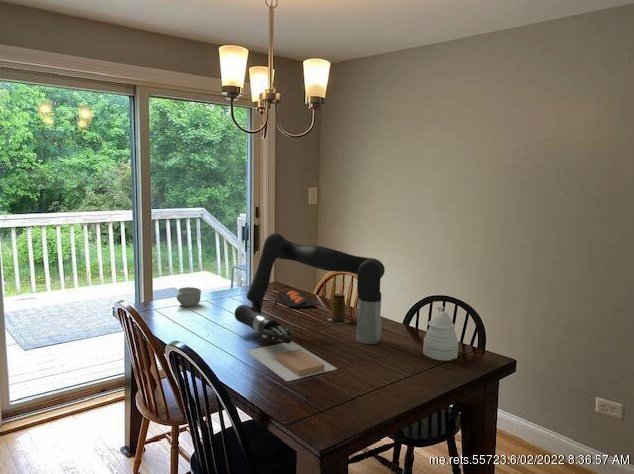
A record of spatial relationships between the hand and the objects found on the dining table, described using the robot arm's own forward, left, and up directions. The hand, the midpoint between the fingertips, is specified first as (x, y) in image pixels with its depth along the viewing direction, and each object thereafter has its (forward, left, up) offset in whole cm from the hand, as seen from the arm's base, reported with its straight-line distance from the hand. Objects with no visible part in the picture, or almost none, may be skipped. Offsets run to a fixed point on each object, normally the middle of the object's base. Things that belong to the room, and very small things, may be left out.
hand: (289, 340), depth 170 cm
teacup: (+77, -31, -8) cm, 84 cm away
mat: (-1, +1, -7) cm, 8 cm away
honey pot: (-45, -37, -8) cm, 59 cm away
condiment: (+5, -52, -8) cm, 53 cm away
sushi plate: (+44, -65, -8) cm, 79 cm away
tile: (+1, 0, -5) cm, 5 cm away
